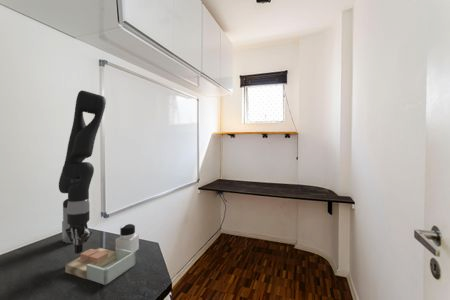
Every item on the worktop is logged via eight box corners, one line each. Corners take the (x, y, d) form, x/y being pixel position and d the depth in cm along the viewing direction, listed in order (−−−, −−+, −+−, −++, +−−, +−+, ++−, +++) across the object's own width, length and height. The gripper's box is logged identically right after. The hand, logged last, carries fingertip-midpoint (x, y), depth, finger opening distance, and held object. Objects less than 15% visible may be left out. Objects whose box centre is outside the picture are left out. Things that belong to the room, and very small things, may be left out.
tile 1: (80, 258, 83) (80, 253, 83) (91, 253, 87) (91, 248, 87) (88, 261, 81) (88, 255, 81) (98, 255, 85) (98, 250, 85)
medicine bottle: (139, 248, 97) (139, 223, 97) (130, 256, 90) (130, 229, 90) (124, 247, 98) (124, 222, 98) (115, 255, 91) (115, 228, 91)
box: (86, 278, 75) (86, 264, 75) (117, 259, 88) (118, 247, 88) (105, 285, 72) (105, 270, 72) (135, 264, 85) (135, 252, 84)
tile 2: (89, 261, 81) (89, 256, 81) (99, 255, 85) (99, 250, 85) (97, 263, 79) (97, 258, 79) (108, 257, 84) (108, 252, 84)
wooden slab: (65, 272, 79) (65, 264, 79) (99, 254, 92) (99, 247, 92) (85, 279, 75) (85, 270, 75) (118, 259, 88) (118, 252, 88)
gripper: (58, 211, 85) (58, 253, 85) (80, 215, 80) (80, 260, 80) (76, 206, 92) (76, 245, 92) (98, 210, 87) (98, 251, 87)
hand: (78, 252), depth 86 cm, fingers closed
